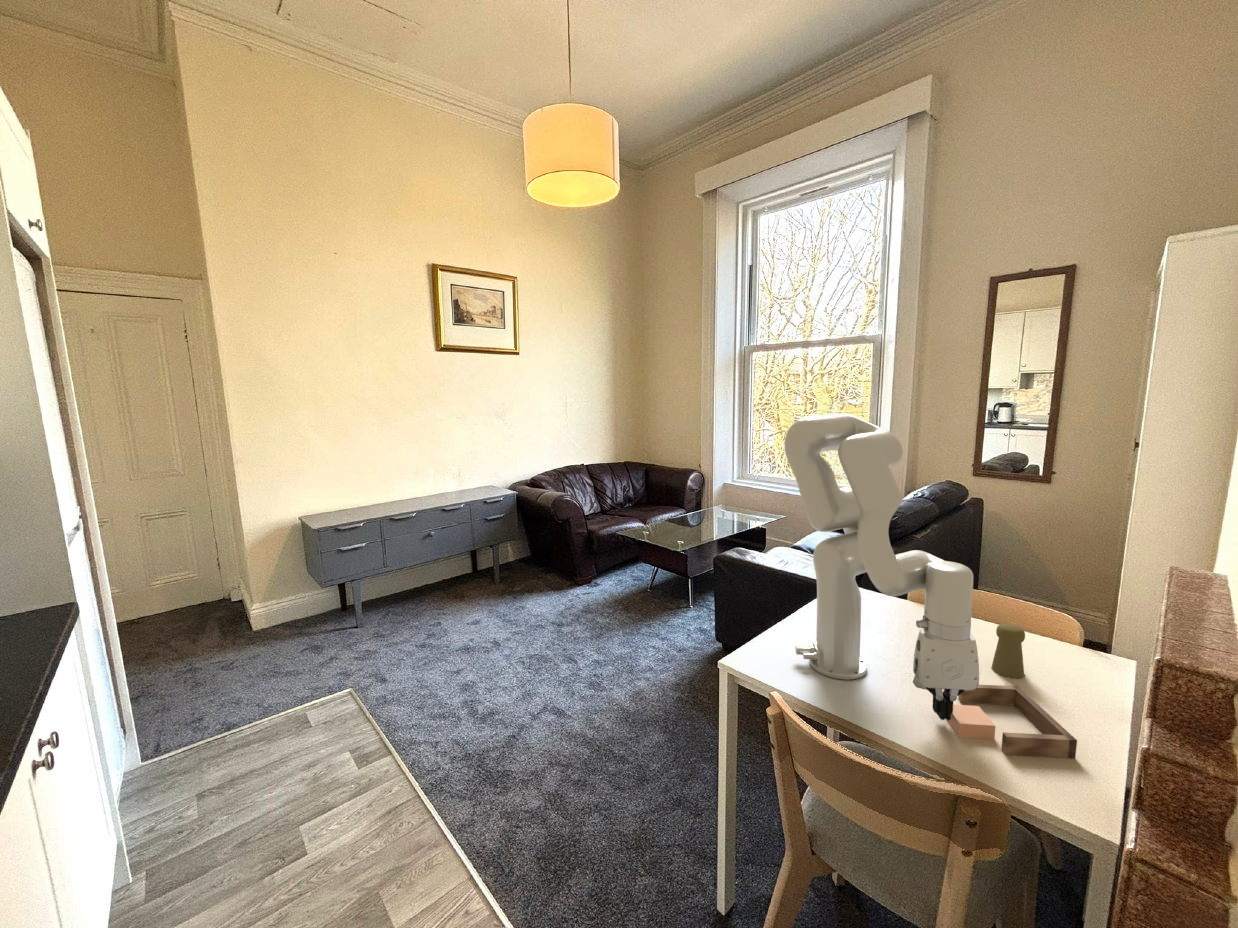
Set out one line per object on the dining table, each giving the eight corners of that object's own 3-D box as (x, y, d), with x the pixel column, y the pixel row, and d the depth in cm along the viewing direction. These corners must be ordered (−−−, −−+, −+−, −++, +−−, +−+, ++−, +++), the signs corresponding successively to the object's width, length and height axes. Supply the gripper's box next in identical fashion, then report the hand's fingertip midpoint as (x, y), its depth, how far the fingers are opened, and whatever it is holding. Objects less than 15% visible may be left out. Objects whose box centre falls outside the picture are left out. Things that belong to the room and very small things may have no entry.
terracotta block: (959, 737, 96) (959, 723, 96) (944, 717, 102) (945, 704, 102) (994, 740, 95) (995, 725, 95) (977, 719, 101) (978, 705, 101)
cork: (1030, 679, 113) (1034, 633, 111) (999, 677, 114) (1002, 631, 113) (1015, 665, 119) (1018, 620, 117) (986, 663, 120) (989, 619, 118)
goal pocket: (1005, 754, 91) (1006, 736, 91) (958, 699, 107) (959, 683, 107) (1075, 758, 90) (1077, 740, 89) (1016, 701, 106) (1018, 685, 105)
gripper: (912, 635, 95) (908, 725, 97) (1001, 637, 92) (995, 730, 95) (896, 617, 102) (894, 702, 105) (978, 619, 100) (973, 705, 102)
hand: (942, 715), depth 100 cm, fingers closed
